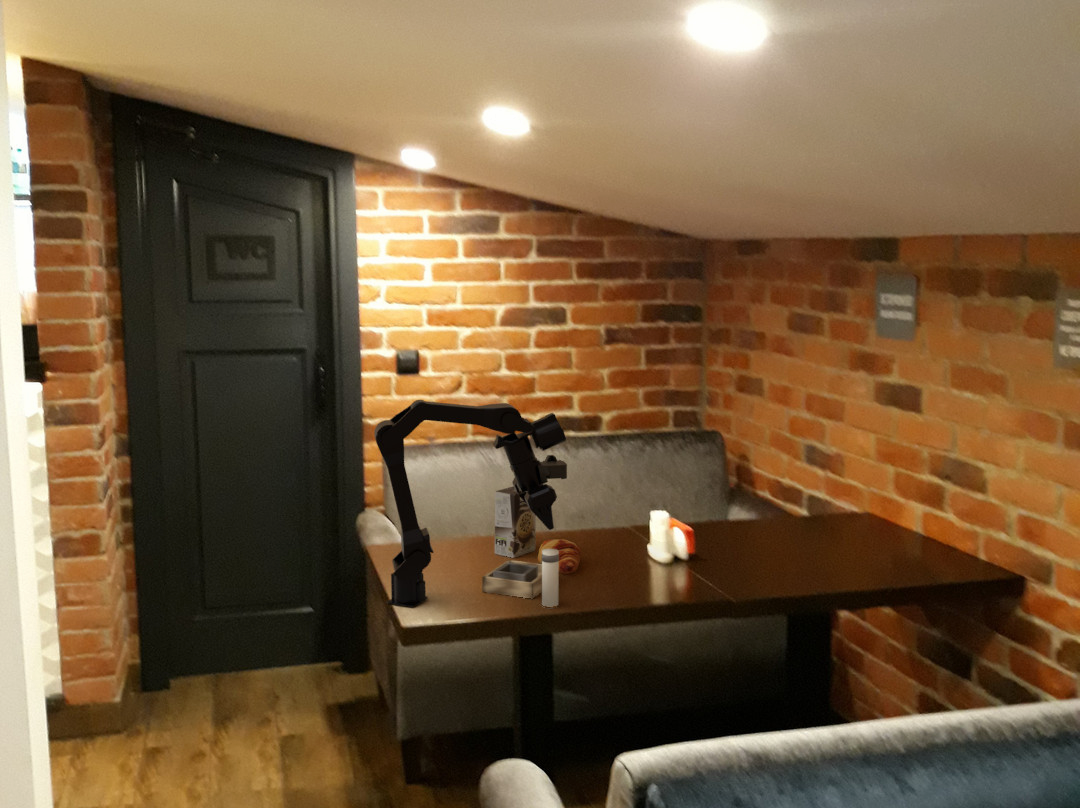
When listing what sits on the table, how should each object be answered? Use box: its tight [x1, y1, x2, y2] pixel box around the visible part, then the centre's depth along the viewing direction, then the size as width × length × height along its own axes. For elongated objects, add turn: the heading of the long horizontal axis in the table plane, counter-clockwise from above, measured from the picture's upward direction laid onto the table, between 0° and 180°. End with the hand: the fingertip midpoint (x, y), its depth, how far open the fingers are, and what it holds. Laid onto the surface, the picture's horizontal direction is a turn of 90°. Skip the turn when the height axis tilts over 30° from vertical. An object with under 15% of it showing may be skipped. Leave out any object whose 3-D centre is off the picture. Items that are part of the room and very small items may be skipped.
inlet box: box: [481, 559, 542, 600], centre depth 240 cm, size 12×14×5 cm
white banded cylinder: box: [541, 549, 560, 607], centre depth 227 cm, size 4×4×12 cm
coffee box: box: [494, 486, 537, 559], centre depth 265 cm, size 9×6×16 cm
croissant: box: [537, 539, 582, 575], centre depth 256 cm, size 21×10×8 cm, turn 15°
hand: (547, 523), depth 234 cm, fingers open, 9 cm apart
